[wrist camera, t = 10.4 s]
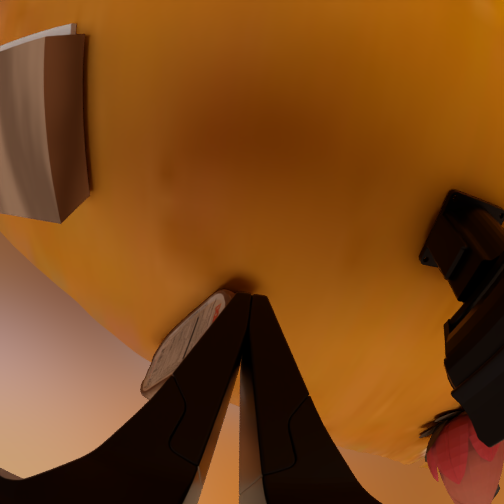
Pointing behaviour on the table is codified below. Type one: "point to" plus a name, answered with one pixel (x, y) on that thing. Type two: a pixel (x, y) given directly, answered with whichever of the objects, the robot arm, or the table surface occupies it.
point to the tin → (182, 341)
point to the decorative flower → (464, 460)
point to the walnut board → (42, 128)
